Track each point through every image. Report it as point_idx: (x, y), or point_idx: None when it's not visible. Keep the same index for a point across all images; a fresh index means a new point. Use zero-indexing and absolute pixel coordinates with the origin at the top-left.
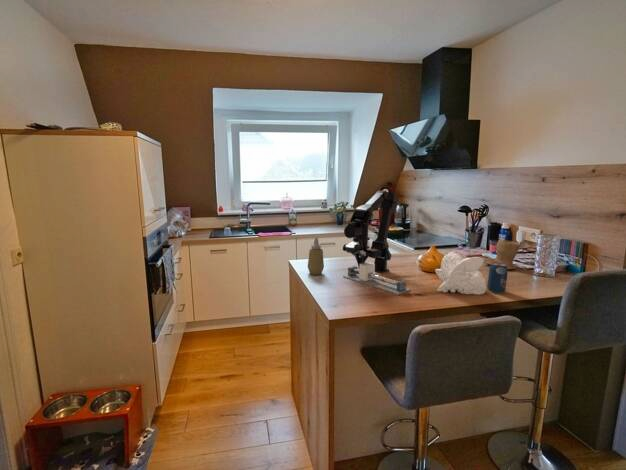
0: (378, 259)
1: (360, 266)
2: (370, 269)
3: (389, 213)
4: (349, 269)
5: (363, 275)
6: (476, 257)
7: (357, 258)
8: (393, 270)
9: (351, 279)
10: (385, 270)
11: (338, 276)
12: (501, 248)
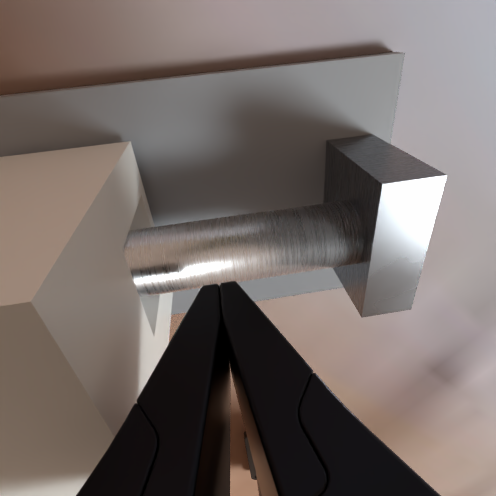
0: None
1: (18, 258)
2: None
3: None
4: (392, 169)
5: (3, 180)
6: None
7: (306, 484)
8: (241, 484)
9: (229, 70)
10: (252, 460)
11: (470, 6)
12: None
